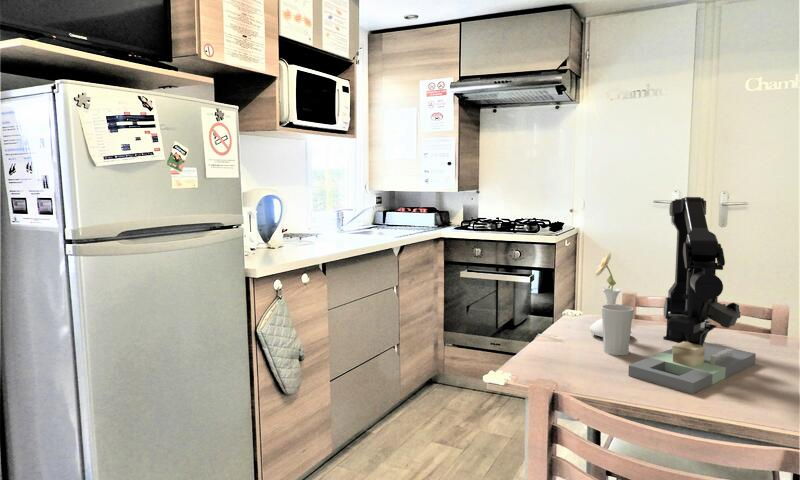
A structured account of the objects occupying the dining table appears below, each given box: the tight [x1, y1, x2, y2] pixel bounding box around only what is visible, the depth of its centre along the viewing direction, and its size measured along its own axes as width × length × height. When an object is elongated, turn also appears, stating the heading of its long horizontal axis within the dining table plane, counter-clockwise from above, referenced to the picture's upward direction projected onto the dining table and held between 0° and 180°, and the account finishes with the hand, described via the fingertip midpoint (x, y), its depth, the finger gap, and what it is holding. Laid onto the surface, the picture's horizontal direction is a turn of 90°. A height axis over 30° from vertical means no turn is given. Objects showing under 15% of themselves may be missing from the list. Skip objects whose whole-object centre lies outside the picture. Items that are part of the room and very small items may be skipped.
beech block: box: [673, 342, 705, 367], centre depth 139 cm, size 5×5×4 cm
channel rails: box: [671, 341, 734, 365], centre depth 144 cm, size 10×9×2 cm
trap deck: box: [628, 341, 757, 395], centre depth 142 cm, size 15×32×2 cm, turn 128°
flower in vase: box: [589, 251, 632, 338], centre depth 168 cm, size 13×11×25 cm
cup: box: [600, 303, 635, 356], centre depth 155 cm, size 8×8×12 cm
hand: (696, 353), depth 142 cm, fingers closed
